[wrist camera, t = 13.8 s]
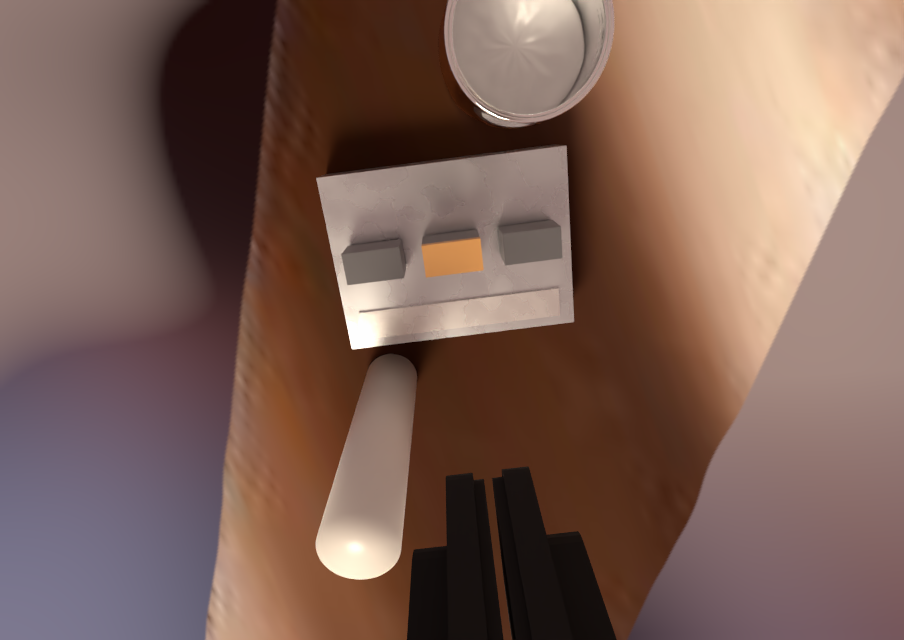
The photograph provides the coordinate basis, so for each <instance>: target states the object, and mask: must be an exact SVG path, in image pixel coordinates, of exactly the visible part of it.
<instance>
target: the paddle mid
mask: <svg viewBox="0 0 904 640" xmlns="http://www.w3.org/2000/svg"><path fill="white" fill-rule="evenodd" d="M421 247H422V254H423V261H424V268H425V275H426V278H427V277H435V276H443V275H451V274H459V273H467V272H475V271H483V270H484V268H483V258H482V249H481V239H480V236H479V234H478V231H477V229H476V230H468V231H460V232H453V233H445V234H437V235H429V236H423V238H422V245H421Z"/></svg>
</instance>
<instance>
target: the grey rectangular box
mask: <svg viewBox="0 0 904 640" xmlns="http://www.w3.org/2000/svg"><path fill="white" fill-rule="evenodd" d="M341 256H342V261H343V266H344V271H345V276H346V281H347V285H355V284H362V283H370V282H378V281H386V280H394V279H402V278H404V276H405V272H406V263H405V257H404V251H403V244H402V239H398V240H390V241H382V242H374V243H366V244H358V245H350V246H347V247H346V249H345V250H344V251H343V253H342V254H341Z"/></svg>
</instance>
